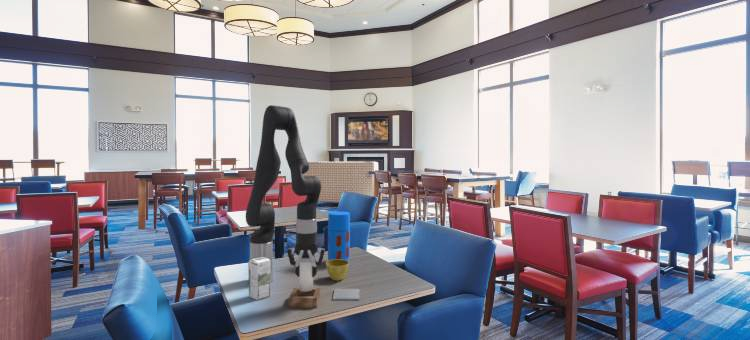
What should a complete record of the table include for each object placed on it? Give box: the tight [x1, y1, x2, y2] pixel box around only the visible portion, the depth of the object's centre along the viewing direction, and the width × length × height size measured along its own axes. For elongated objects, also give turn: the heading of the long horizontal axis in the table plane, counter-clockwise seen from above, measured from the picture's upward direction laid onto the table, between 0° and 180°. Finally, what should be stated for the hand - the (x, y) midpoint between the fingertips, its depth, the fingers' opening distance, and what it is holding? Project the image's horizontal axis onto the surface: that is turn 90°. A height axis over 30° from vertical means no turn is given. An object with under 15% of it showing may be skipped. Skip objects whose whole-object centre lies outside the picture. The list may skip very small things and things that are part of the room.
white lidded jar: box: [298, 256, 314, 292], centre depth 139 cm, size 5×5×12 cm
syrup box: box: [248, 257, 271, 301], centre depth 144 cm, size 6×6×14 cm
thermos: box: [327, 211, 351, 263], centre depth 189 cm, size 11×11×25 cm
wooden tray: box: [288, 287, 321, 309], centre depth 139 cm, size 10×10×4 cm
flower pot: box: [325, 259, 350, 281], centre depth 166 cm, size 10×10×7 cm
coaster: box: [332, 288, 361, 301], centre depth 147 cm, size 10×10×1 cm
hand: (306, 275), depth 139 cm, fingers closed on white lidded jar, 5 cm apart
